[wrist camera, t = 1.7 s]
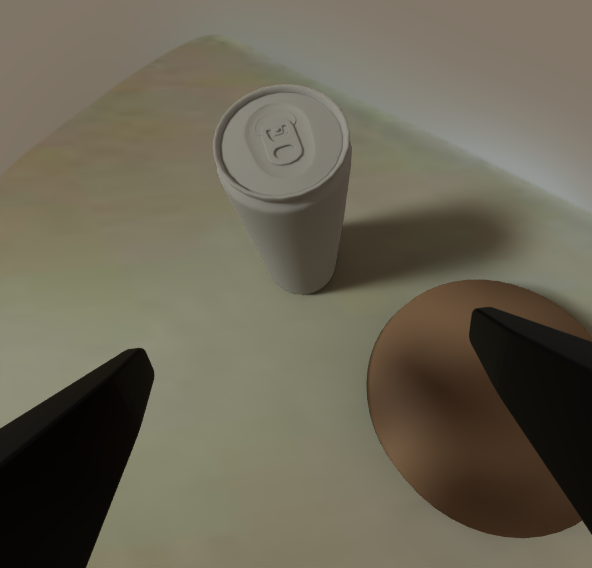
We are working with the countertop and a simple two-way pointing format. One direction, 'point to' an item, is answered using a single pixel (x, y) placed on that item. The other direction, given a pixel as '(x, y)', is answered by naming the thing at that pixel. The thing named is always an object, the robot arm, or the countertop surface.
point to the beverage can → (288, 179)
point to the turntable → (463, 413)
